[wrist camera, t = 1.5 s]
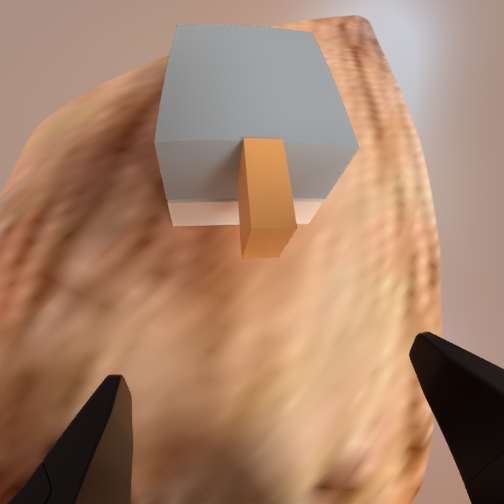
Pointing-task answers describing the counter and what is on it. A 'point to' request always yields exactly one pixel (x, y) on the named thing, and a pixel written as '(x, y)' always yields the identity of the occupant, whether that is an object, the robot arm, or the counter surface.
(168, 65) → the grey boxy piece
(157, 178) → the counter surface
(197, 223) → the carton base
